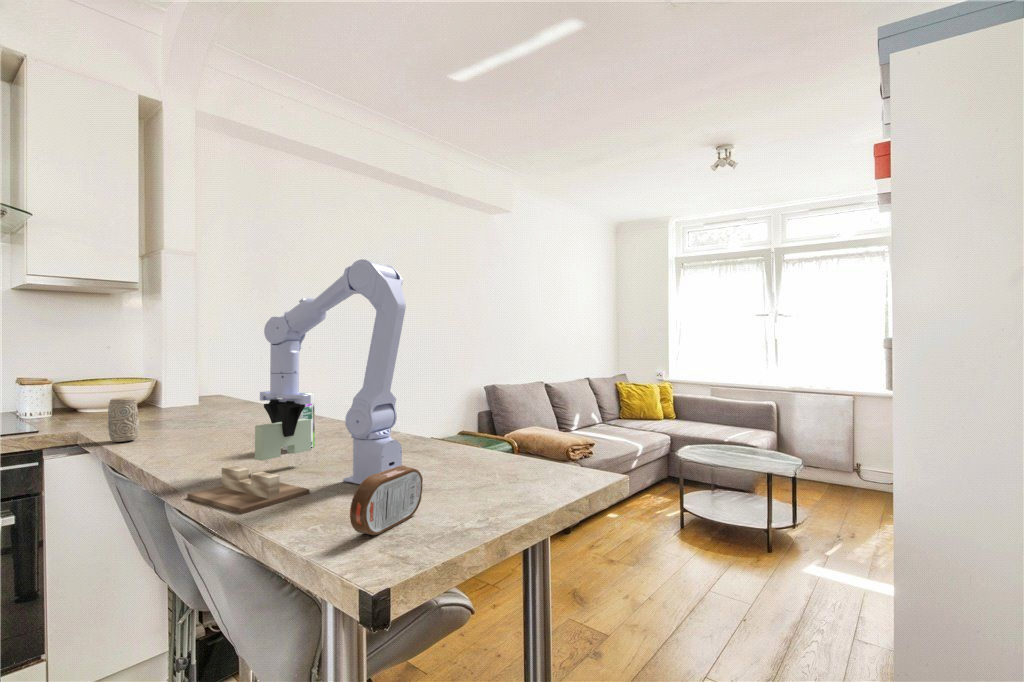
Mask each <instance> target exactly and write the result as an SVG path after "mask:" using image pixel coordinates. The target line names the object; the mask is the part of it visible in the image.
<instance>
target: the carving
mask: <svg viewBox="0 0 1024 682" xmlns="http://www.w3.org/2000/svg"><path fill="white" fill-rule="evenodd" d="M137 400H138V399H137V398H136V397H133V396H132V397H131V396H129V397H128V396H124V397H114V398H111V399H110V400H109V402H108V405H107V406H108V409H107V410H108V411H107V414H108V416H107V427H108V428H107V430H108V434H109V436H108V437H109V438H110V439H109V440H110V441H111V442H112V443H123V442H128V441H132V440H136V439H138V438H139V437H140V436H139V435H140V434H139V433H140V421H139V420H140V419H139V410H138V401H137Z"/></svg>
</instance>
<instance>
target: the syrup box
mask: <svg viewBox="0 0 1024 682" xmlns="http://www.w3.org/2000/svg"><path fill="white" fill-rule="evenodd" d="M299 393H303V394H309V395H311V404H305V408H304V409H303V411H302V413H301V415H300V417H299V419H311V447H312V448H314V447H316V443H315V441H316V437H315V433H316V432H315V421H316V420H315V418H316V417H315V415H316V414H315V392H308V391H307V392H306V391H302V392H300V391H299ZM281 399H284V398H281ZM286 400H287V399H286ZM282 450H283V451H287V446H285V447H282Z"/></svg>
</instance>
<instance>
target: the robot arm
mask: <svg viewBox="0 0 1024 682" xmlns="http://www.w3.org/2000/svg"><path fill="white" fill-rule="evenodd" d="M403 282H404V278H403V277H402V276H401V274H400V273H399V272H398V270H396V268H394V267H393V266H390V265H385V264H381V263H378V262H372V261H370V260H367V259H363V258H362V259H358V260H356V261H354V262H353V263H352V264H351V265H350V266H348V267H346V268H345V269H344V272H343V274H342V275H341V276H340V277H339V278H337V280H335V281H334V282H333V283H332V284H331V285H330V286H328V287H327V288H326V289H325V290H324V291H322V292H321V293H320V294H319V295H318V296H317V297H315V298H313V297H307V298H301V299H299V301H298V302H299V303H298V304H297V305H295V306H294V307H293V308H291V309H290V310H287V311H285V312H284V313H283V315H281V316H271V317H270V318H269V320H267V321H266V323H265V325H264V329H263V332H264V333H263V334H264V338H265V339H266V341H267V342H268V343H269V344H270V353H269V354H270V363H269V371H270V372H269V373H270V375H269V376H270V377H269V381H270V382H269V383H270V384H269V385H270V386H269V388H270V389H269V391H267V390H265V391H260V392H259V401H262V402H263V401H269V402H268V403H263V408H264V410H265V411H266V413H267V414H268V417H269V419H270V422H271V423H277V422H282V430H283V435H284V437H288V436H294V433H295V429H296V425H297V422H298V419H299V417H300V415H301V413H302V411H303V409H304V408H305V404H311V395H309V394H303V393H300V351H301V349H302V343H303V341H304V339H305V337H306V333H308V332H310V331H311V330H312V329H313V328H315V327H316V326H318V325H319V324H321V323H323V321H324V320H325V319H326V316H327V311H329V310H331V309H333V308H334V307H335V306H338V305H339V304H341V303H342V302H343V301H345V300H347V299H348V298H350V297H352V296H353V295H358V294H359V295H361V296H363V297H364V298H366V300H368V301H369V302H370V304H371V305H372V306H373V308H374V309H375V311H376V312H375V318H374V322H373V323H374V324H373V328H372V329H373V330H372V334H371V340H370V346H369V351H368V357H367V361H366V367H365V371H364V372H365V373H364V379H363V383H362V384H363V385H362V387H361V389H360V390H359V391H358V392H357V393H356V395H354V397H353V398H352V403H351V405H350V406H351V407H350V408H349V410H348V411H347V413H346V415H345V419H344V420H345V421H344V422H345V427H346V430H347V431H348V433H349V434H351V439H352V475H351V476H347V477H344V478H343V479H342V481H343V482H346V483H351V484H355V485H360V484H361V483H362V482H363V481H364V480H365V479H366V478H367V477H369V476H371V475H374V474H377V473H380V472H383V471H386V470H389V469H392V468H395V467H398V466H401V465H403V464H402V463H403V449H402V444H401V443H400V442H399V440H397V439H394V438H393V437H392V436H391V434H392V428H393V427H394V426H395V425H396V422H397V421H398V420H397V418H398V414H397V409H396V402H397V398H396V397H395V395H394V394H393V393H392V392H391V389H392V383H393V380H394V379H393V378H394V372H395V367H396V361H397V356H398V351H399V345H400V341H401V335H402V330H403V324H404V320H405V319H404V318H405V313H406V309H407V306H406V299H405V295H404V292H403V291H404V290H403ZM282 398H284V399H282ZM286 399H287V400H286ZM271 423H270V424H271Z"/></svg>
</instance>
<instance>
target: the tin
mask: <svg viewBox="0 0 1024 682" xmlns="http://www.w3.org/2000/svg"><path fill="white" fill-rule="evenodd" d="M423 482H424V481H423V475H422V473H421V471H419V470H418V469H416V468H413V467H410V466H406V465H403V464H402V465H401V466H398V467H395V468H392V469H389V470H386V471H383V472H380V473H377V474H374V475H371V476H369V477H367V478H366V479H365V480H364V481H363V482H362V483H361V484H358V485H359V486H358V487H357V489H356V490H355V492H354V494H353V497H352V500H351V502H350V508H349V518H350V519H349V521H350V524H351V526H352V528H353V529H354V531H355V532H357V533H360V534H366V535H370V536H377V535H380V534H382V533H384V532H386V531H388V530H390V529H392V528H394V527H396V526H398V525H399V524H402V523H404V522H405V521H407V520H409V519H410V518H412V517H413V515H415V513H416V512H417V511H418V509H419V506H420V504H421V502H422V494H423Z"/></svg>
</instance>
